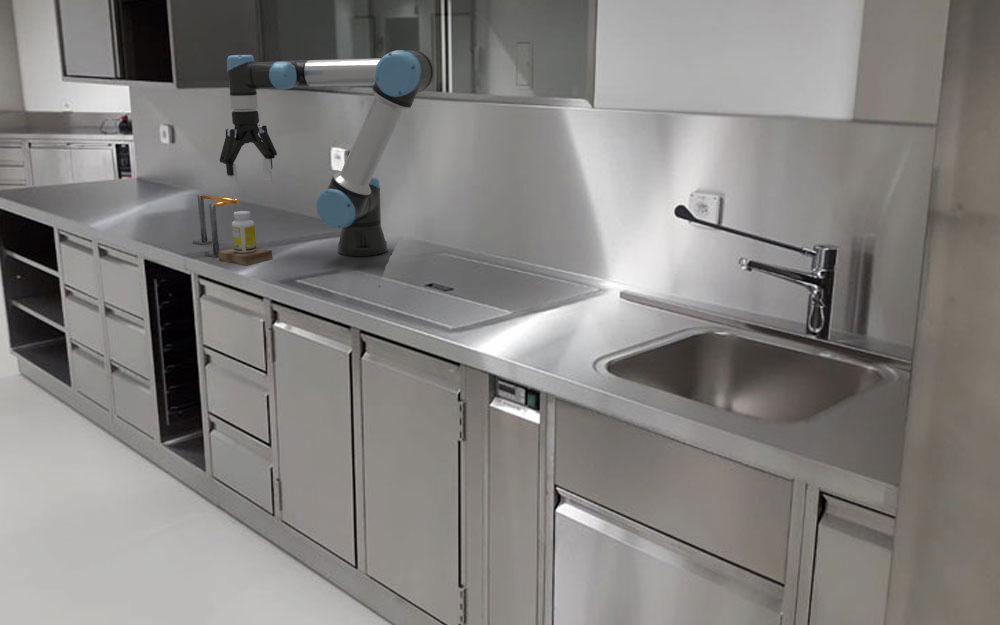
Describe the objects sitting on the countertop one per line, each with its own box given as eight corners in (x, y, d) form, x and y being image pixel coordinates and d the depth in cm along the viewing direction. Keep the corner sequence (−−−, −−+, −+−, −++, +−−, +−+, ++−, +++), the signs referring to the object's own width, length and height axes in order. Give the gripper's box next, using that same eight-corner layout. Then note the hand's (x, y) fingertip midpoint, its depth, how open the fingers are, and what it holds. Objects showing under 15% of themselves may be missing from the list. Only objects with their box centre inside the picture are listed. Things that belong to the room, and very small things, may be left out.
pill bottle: (260, 249, 276) (257, 210, 273) (250, 254, 270) (247, 214, 267) (240, 248, 278) (237, 209, 274) (229, 253, 272) (226, 213, 268)
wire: (251, 248, 288) (247, 198, 283) (215, 257, 277) (210, 204, 272) (205, 240, 300) (201, 191, 295) (169, 248, 289) (164, 197, 284)
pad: (272, 258, 275) (271, 250, 275) (246, 265, 267) (245, 257, 267) (245, 253, 282) (244, 245, 281) (218, 259, 274) (218, 251, 273)
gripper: (267, 107, 279) (272, 177, 285) (201, 113, 259) (209, 188, 265) (285, 107, 276) (290, 178, 282) (220, 113, 255) (228, 190, 261)
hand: (251, 183), depth 273 cm, fingers open, 13 cm apart
